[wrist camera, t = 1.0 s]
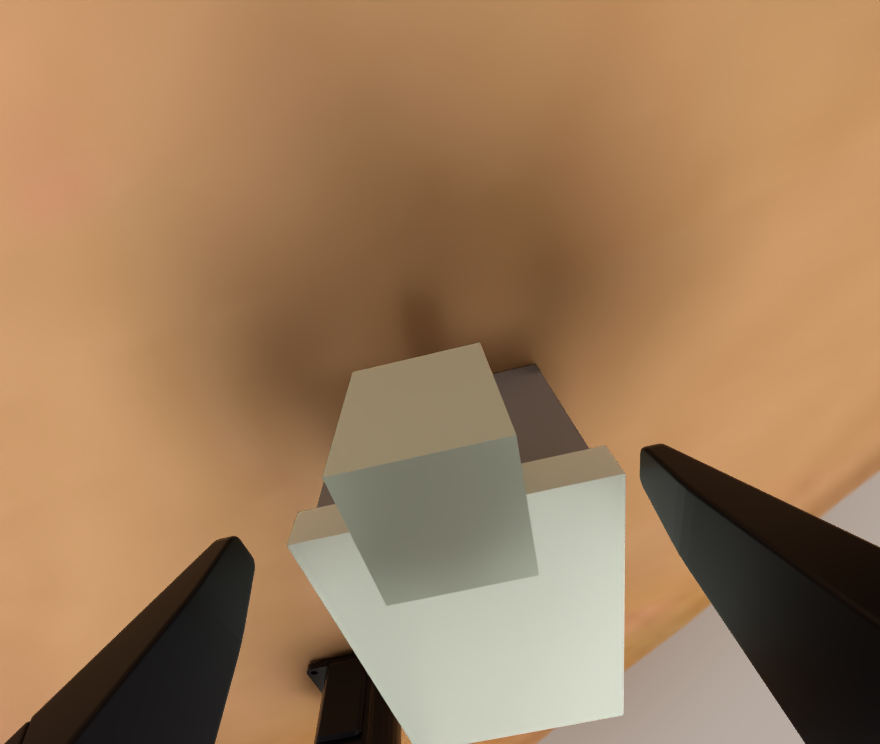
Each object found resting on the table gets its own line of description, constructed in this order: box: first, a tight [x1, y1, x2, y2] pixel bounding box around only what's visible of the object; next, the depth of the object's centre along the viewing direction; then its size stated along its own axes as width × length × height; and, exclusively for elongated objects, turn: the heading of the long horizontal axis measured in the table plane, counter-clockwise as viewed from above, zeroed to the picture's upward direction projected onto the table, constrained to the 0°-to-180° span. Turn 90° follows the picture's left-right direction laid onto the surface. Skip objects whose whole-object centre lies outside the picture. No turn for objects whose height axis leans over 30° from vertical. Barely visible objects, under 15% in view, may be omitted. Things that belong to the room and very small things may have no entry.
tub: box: [317, 364, 589, 508], centre depth 18 cm, size 14×9×6 cm, turn 13°
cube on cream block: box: [287, 342, 625, 744], centre depth 13 cm, size 19×10×4 cm, turn 13°
